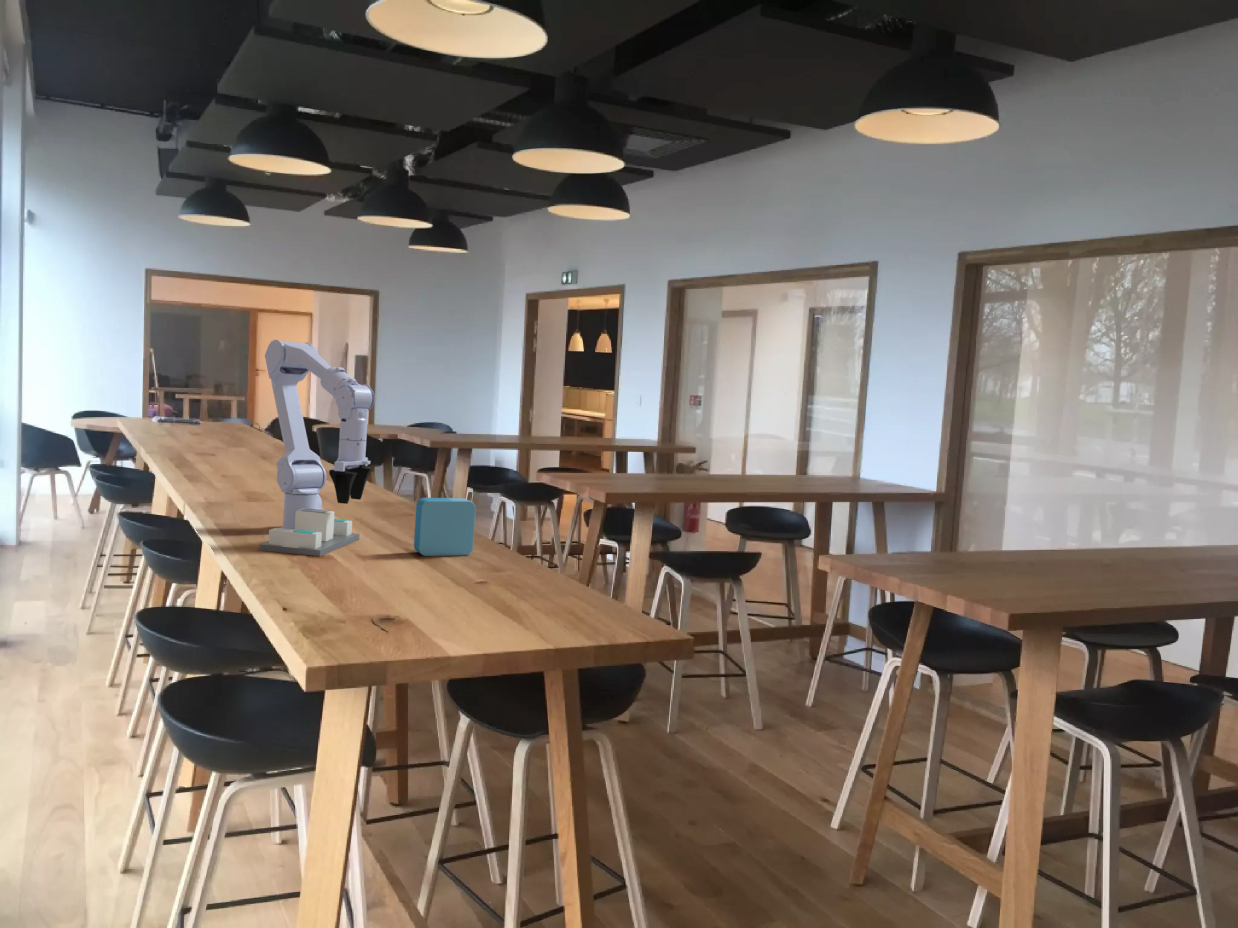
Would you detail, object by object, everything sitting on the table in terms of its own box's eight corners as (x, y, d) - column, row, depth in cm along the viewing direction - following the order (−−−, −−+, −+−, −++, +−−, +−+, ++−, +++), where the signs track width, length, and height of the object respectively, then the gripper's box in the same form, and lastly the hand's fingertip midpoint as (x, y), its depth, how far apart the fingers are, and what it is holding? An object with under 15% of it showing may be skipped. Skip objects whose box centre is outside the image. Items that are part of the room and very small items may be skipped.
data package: (466, 551, 214) (469, 498, 213) (472, 555, 210) (476, 501, 209) (413, 552, 209) (416, 497, 208) (419, 556, 205) (422, 500, 204)
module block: (302, 535, 210) (303, 507, 210) (333, 538, 209) (334, 510, 209) (294, 538, 206) (295, 510, 206) (325, 541, 206) (327, 513, 205)
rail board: (304, 533, 219) (305, 514, 219) (359, 539, 218) (360, 520, 218) (259, 549, 198) (260, 529, 197) (320, 556, 196) (321, 535, 196)
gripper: (358, 443, 203) (354, 506, 204) (381, 439, 217) (378, 498, 218) (326, 440, 203) (322, 503, 205) (351, 436, 218) (348, 496, 219)
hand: (349, 501), depth 212 cm, fingers open, 7 cm apart
